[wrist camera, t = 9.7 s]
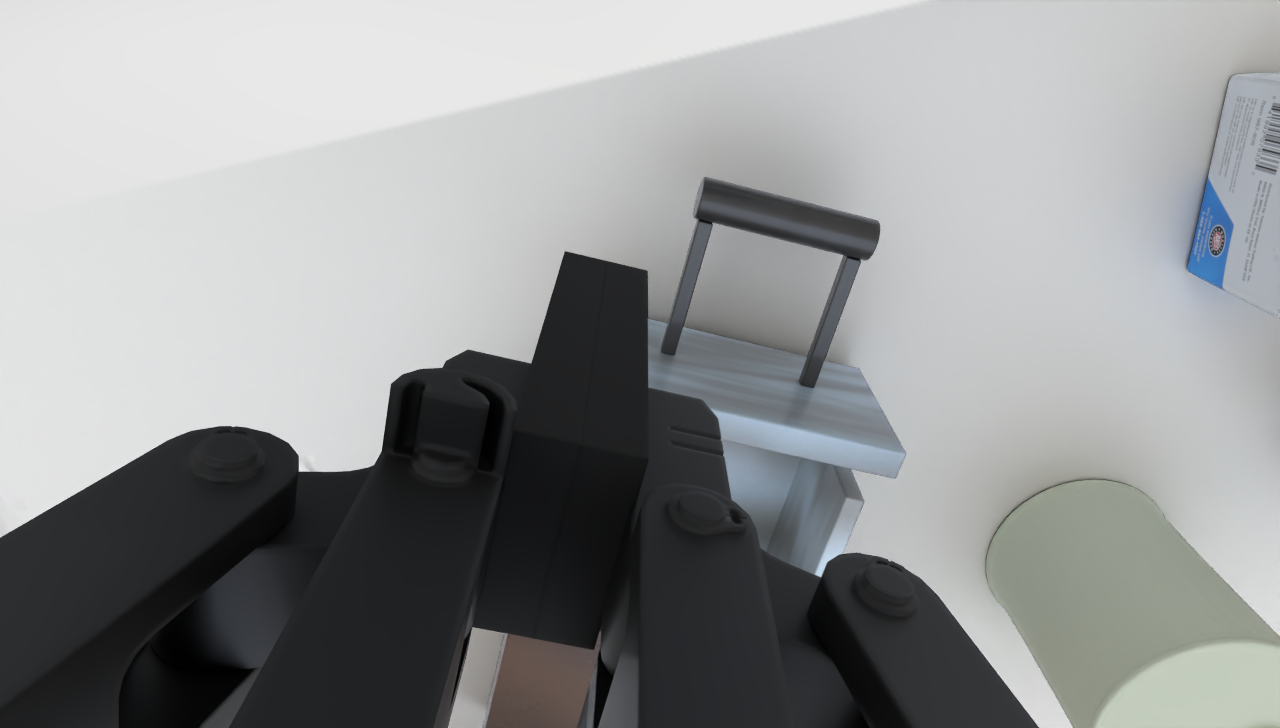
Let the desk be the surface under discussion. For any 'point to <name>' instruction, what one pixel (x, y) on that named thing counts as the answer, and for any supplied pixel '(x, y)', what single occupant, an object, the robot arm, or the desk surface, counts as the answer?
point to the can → (1130, 615)
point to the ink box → (1244, 196)
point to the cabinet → (539, 684)
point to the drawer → (782, 386)
